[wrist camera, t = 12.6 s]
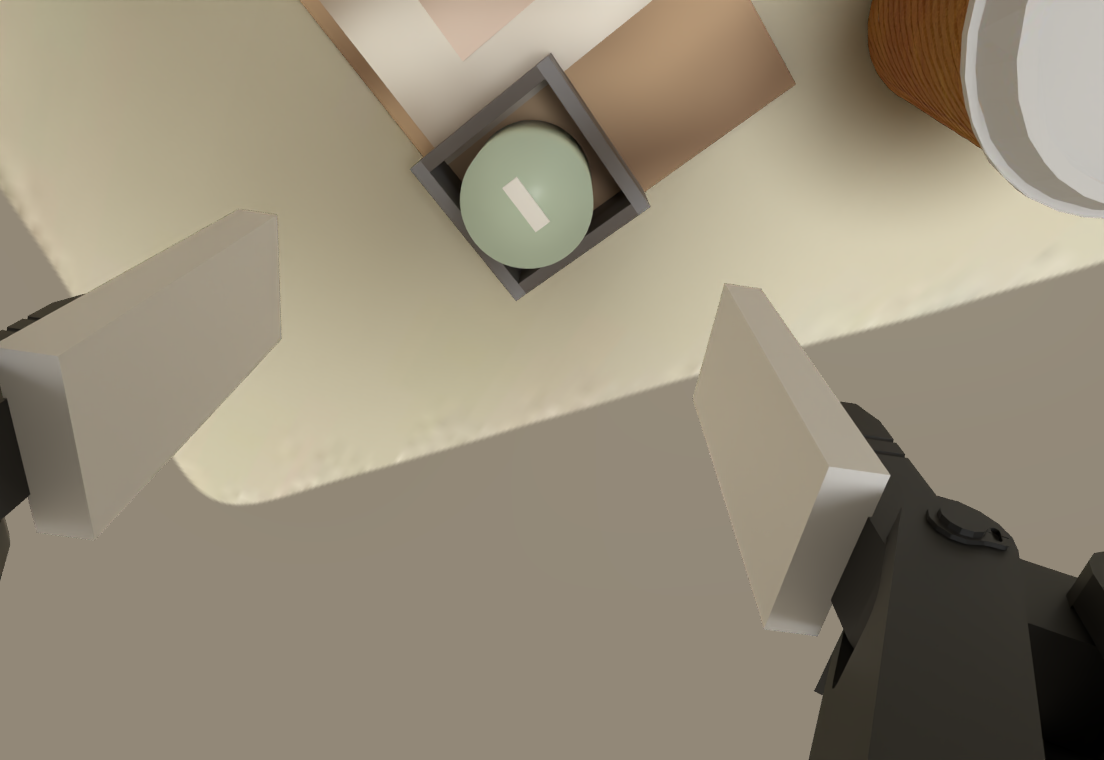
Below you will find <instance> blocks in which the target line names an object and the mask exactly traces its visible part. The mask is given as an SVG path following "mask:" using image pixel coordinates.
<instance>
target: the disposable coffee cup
mask: <svg viewBox="0 0 1104 760" xmlns="http://www.w3.org/2000/svg"><path fill="white" fill-rule="evenodd" d="M868 47H869V52H870V57H871V60H872V63H873V65H874V67H875V70H876V72H877V74H878V75H879V77H880V78H881V79H882V80H883V82H884V83H885V84H886V86H887V87H888V88H889V89H890V90H891V91H893V92H894V93H895V94H896V95H897V96H899V97H901V98H903V99H905V100H906V101H908V102H909V103H911V104H913V105H914V106H916V107H917V108H919V109H920V110H922V111H923V112H925V113H927V114H928V115H930V116H931V117H933V118H934V119H935V120H937V121H938V122H940V123H942V124H943V125H945V126H947V127H948V128H950V129H951V130H953V131H955V132H956V133H957V134H959V135H960V136H962V137H964V138H966V139H968V140H969V141H970V142H972V143H973V144H975V145H976V146H977V147H979V148H981V149H982V150H983V152H984V154H985V156H986V157H987V159H988V161H989V163H990V164H991V165H992V166H993V167H994V168H995V169H996V170H997V171H998V172H999V173H1000V174H1001V175H1002V176H1003V177H1004V178H1005V179H1006V180H1007V181H1008V182H1009V183H1010V184H1011V185H1012V186H1013V187H1014V188H1015V189H1016V190H1018V191H1019V192H1021V193H1022V194H1024V195H1025V196H1027V197H1028V198H1030V199H1032V200H1035V201H1037V202H1039V203H1041V204H1043V205H1046V206H1048V207H1050V208H1052V209H1055V210H1057V211H1060V212H1064V213H1068V214H1072V215H1077V216H1081V217H1089V218H1104V0H872V3H871V8H870V14H869V19H868Z"/></svg>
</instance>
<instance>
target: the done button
mask: <svg viewBox="0 0 1104 760" xmlns="http://www.w3.org/2000/svg"><path fill="white" fill-rule="evenodd" d="M460 208H461V214H462V218H463V222H464V224H465V227H466V229H467V231H468V233H469V235H470V236H471V238H472V239H473V241H474V242H475V243H476V245H477V246H478V247H479V248H480V249H481V250H482V251H483V252H485V253H486V254H487V255H488V256H490V257H491V258H493V259H494V260H496V261H498V262H500V263H502V264H505V265H508V266H511V267H516V268H524V269H533V268H541V267H545V266H548V265H551V264H554V263H556V262H558V261H560V260H562V259H563V258H565V257H566V256H568V255H569V254H570V253H571V252H573V250H574V249H575V248H576V247H577V246H578V245H579V244H580V242H581V241H582V240H583V238H584V236H585V234H586V233H587V231H588V228H589V225H590V223H591V219H592V214H593V190H592V180H591V172H590V166H589V163H588V160H587V157H586V155H585V153H584V151H583V149H582V148H581V146H580V145H579V143H578V142H577V141H576V140H575V139H574V138H573V137H572V136H571V135H570V134H569V133H568V132H566V131H565V130H564V129H562V128H560V127H558V126H556V125H554V124H551V123H549V122H545V121H540V120H523V121H518V122H515V123H512V124H509V125H507V126H505V127H503V128H502V129H500V130H499V131H497V132H496V133H495V134H494V135H493V136H491V137H490V139H489V140H488V141H487V142H486V143H485V145H484V146H483V147H482V149H481V150H480V151H479V153H478V154H477V156H476V157H475V158H474V160H473V161H472V163H471V164H470V166H469V167H468V169H467V171H466V173H465V176H464V178H463V182H462V185H461V192H460Z"/></svg>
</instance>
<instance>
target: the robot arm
mask: <svg viewBox="0 0 1104 760" xmlns="http://www.w3.org/2000/svg"><path fill="white" fill-rule="evenodd" d="M281 339H282V337H281V308H280V279H279V250H278V221H277V215H276V214H270V213H263V212H257V211H250V210H244V209H237V210H236V211H234V212H232V213H230V214H228V215H227V216H225V217H223V218H221V219H219V220H218V221H216V222H214V223H212V224H210V225H209V226H207V227H205V228H203V229H201V230H200V231H198V232H196V233H194V234H192V235H191V236H189V237H187V238H185V239H183V240H182V241H180V242H178V243H176V244H174V245H173V246H171V247H169V248H167V249H165V250H164V251H162V252H160V253H158V254H156V255H155V256H153V257H151V258H149V259H147V260H146V261H144V262H142V263H140V264H138V265H137V266H135V267H133V268H131V269H129V270H128V271H126V272H124V273H122V274H120V275H119V276H117V277H115V278H113V279H111V280H110V281H108V282H106V283H104V284H102V285H101V286H99V287H97V288H95V289H93V290H92V291H90V292H88V293H86V294H82V295H79V296H75V297H72V298H68V299H65V300H61V301H57V302H54V303H51V304H49V305H48V306H46V307H44V308H42V309H40V310H39V311H36V312H35V313H33V314H31V315H29V316H28V319H22V320H20V321H18V322H16V323H14V324H12V325H10V326H8V327H7V331H5V330H1V331H0V579H1V576H2V572H3V568H4V565H5V561H6V557H7V554H8V551H9V547H10V538H9V531H8V528H7V524H6V520H5V516H6V515H7V514H8V513H9V512H11V511H12V510H13V509H14V508H15V507H16V506H18V505H19V504H20V503H21V502H22V501H23V500H24V499H25V498H27V497H28V500H29V504H30V508H31V512H32V516H33V520H34V524H35V528H36V532H37V533H44V534H52V535H59V536H66V537H74V538H82V539H88V540H96V538H98V536H99V535H100V534H101V533H102V532H103V531H104V530H105V529H106V528H107V527H108V526H109V524H111V522H112V521H113V520H114V519H115V518H116V517H117V516H118V515H119V514H120V513H121V512H122V511H123V510H124V508H125V507H126V506H127V505H128V504H129V503H130V502H131V501H132V500H133V499H134V497H136V495H137V494H138V493H139V492H140V491H141V490H142V489H143V488H144V487H145V486H146V485H147V484H148V482H149V481H150V480H151V479H152V478H153V477H154V476H155V475H156V474H157V473H158V472H159V471H160V470H161V469H162V467H163V466H164V465H165V464H166V463H167V462H168V461H169V460H170V459H171V458H172V457H173V456H174V455H175V453H176V452H177V451H178V450H179V449H180V448H181V447H182V446H183V445H184V444H185V443H186V442H187V440H188V439H189V438H190V437H191V436H192V435H193V434H194V433H195V432H196V431H197V430H198V429H199V428H200V426H201V425H202V424H203V423H204V422H205V421H206V420H207V419H208V418H209V417H210V416H211V415H212V414H213V412H214V411H215V410H216V409H217V408H218V407H219V406H220V405H221V404H222V403H223V402H224V401H225V400H226V398H227V397H228V396H229V395H230V394H231V393H232V392H233V391H234V390H235V389H236V388H237V387H238V385H239V384H240V383H241V382H242V381H243V380H244V379H245V378H246V377H247V376H248V375H249V374H250V373H251V371H252V370H253V369H254V368H255V367H256V366H257V365H258V364H259V363H260V362H261V361H262V360H263V359H264V357H265V356H266V355H267V354H268V353H269V352H270V351H271V350H272V349H273V348H274V347H275V346H276V345H277V343H278V342H279V341H280V340H281ZM693 402H694V405H695V408H696V411H697V415H698V418H699V421H700V424H701V428H702V431H703V434H704V437H705V440H706V444H707V447H708V450H709V453H710V457H711V460H712V463H713V466H714V469H715V473H716V476H717V479H718V482H719V486H720V489H721V492H722V495H723V498H724V502H725V505H726V508H727V512H728V515H729V518H730V521H731V524H732V527H733V531H734V534H735V537H736V541H737V544H738V547H739V550H740V553H741V556H742V560H743V563H744V566H745V569H746V573H747V576H748V579H749V582H750V586H751V589H752V592H753V595H754V599H755V602H756V605H757V608H758V611H759V614H760V618H761V621H762V624H763V628H764V629H766V630H774V631H782V632H789V633H796V634H804V635H812V636H818V634H819V632H820V630H821V628H822V625H823V623H824V621H825V619H826V616H827V614H828V612H829V610H830V608H831V606H832V604H833V606H834V609H835V611H836V613H837V615H838V617H839V619H840V622H841V625H842V627H843V631H842V634H841V636H840V638H839V640H838V642H837V644H836V646H835V648H834V650H833V652H832V655H831V657H830V659H829V661H828V663H827V665H826V668H825V669H824V672H823V674H822V676H821V678H820V680H819V682H818V684H817V686H816V688H815V690H814V691H815V692H817V693H819V694H821V695H823V698H822V702H821V707H820V711H819V716H818V720H817V724H816V729H815V734H814V738H813V743H812V747H811V751H810V756H809V760H1104V552H1098V553H1094V554H1093V555H1092V557H1091V558H1090V560H1089V561H1088V563H1087V565H1086V566H1085V568H1084V569H1083V571H1082V572H1081V574H1080V575H1079V577H1078V578H1076V577H1073V576H1070V575H1067V574H1064V573H1061V572H1058V571H1055V570H1052V569H1049V568H1046V567H1043V566H1040V565H1037V564H1034V563H1031V562H1028V561H1025V560H1022V559H1019V552H1018V549H1017V547H1016V545H1015V542H1014V540H1013V538H1012V537H1011V536H1010V535H1009V534H1008V533H1007V532H1006V531H1005V530H1004V529H1003V528H1002V527H1001V526H1000V525H999V524H998V523H996V522H995V521H993V520H992V519H990V518H989V517H987V516H986V515H984V514H983V513H981V512H980V511H978V510H975V509H973V508H971V507H969V506H967V505H964V504H962V503H960V502H958V501H954V500H950V499H946V498H943V497H940V496H936V494H935V493H934V492H933V490H932V489H931V488H930V487H929V485H928V484H927V483H926V481H925V480H924V479H923V477H922V476H921V475H920V473H919V472H918V471H917V469H916V468H915V467H914V466H913V464H912V463H911V462H910V460H909V459H908V458H905V454H904V452H903V451H902V450H901V448H900V447H899V446H898V445H897V443H893V438H892V437H891V436H890V434H889V433H888V431H887V430H886V429H885V427H884V426H883V425H882V424H881V422H880V421H879V420H877V419H876V418H875V417H873V416H872V415H870V414H869V413H868V412H866V411H865V410H863V409H862V408H861V407H860V406H858V405H857V404H853V403H846V402H839V400H838V399H837V397H836V396H835V395H834V393H833V392H832V390H831V389H830V387H829V386H828V385H827V383H826V382H825V380H824V379H823V377H822V376H821V374H820V373H819V372H818V370H817V369H816V367H815V366H814V364H813V363H812V361H811V360H810V359H809V357H808V356H807V354H806V353H805V351H804V350H803V348H802V347H801V346H800V344H799V343H798V341H797V340H796V338H795V337H794V335H793V334H792V333H791V331H790V330H789V328H788V327H787V325H786V324H785V323H784V321H783V320H782V318H781V317H780V315H779V314H778V312H777V311H776V310H775V308H774V307H773V305H772V304H771V302H770V301H769V299H768V298H767V297H766V295H765V294H764V292H763V291H762V289H760V288H753V287H747V286H740V285H734V284H727V283H725V284H724V287H723V291H722V295H721V298H720V302H719V306H718V309H717V313H716V316H715V320H714V324H713V327H712V331H711V334H710V338H709V342H708V345H707V349H706V353H705V356H704V360H703V363H702V367H701V371H700V374H699V378H698V381H697V385H696V389H695V392H694V396H693Z"/></svg>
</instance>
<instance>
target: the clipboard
mask: <svg viewBox="0 0 1104 760" xmlns="http://www.w3.org/2000/svg"><path fill="white" fill-rule="evenodd" d="M300 2H301V3H302V4H303V5H304V7H305V8H306V9H307V10H308V12H309V13H310V14H311V15H312V17H313V18H314V19H315V20H316V22H317V23H318V24H319V26H320V27H321V28H322V29H323V31H324V32H325V33H326V34H327V36H328V37H329V38H330V39H331V41H332V42H333V43H334V44H335V46H336V47H337V48H338V50H339V51H340V52H341V53H342V55H343V56H344V57H345V58H346V60H347V61H348V62H349V63H350V65H351V66H352V67H353V68H354V70H355V71H356V72H357V73H358V75H359V76H360V77H361V79H362V80H363V81H364V82H365V84H366V85H367V86H368V87H369V89H370V90H371V91H372V92H373V94H374V95H375V96H376V97H377V99H378V100H379V101H380V103H381V104H382V105H383V106H384V108H385V109H386V110H387V111H388V113H389V114H390V115H391V116H392V118H393V119H394V120H395V121H396V123H397V124H398V125H399V127H400V128H401V129H402V130H403V132H404V133H405V134H406V135H407V137H408V138H409V139H410V140H411V142H412V143H413V144H414V145H415V147H416V148H417V149H418V151H419V152H420V153H421V154H422V156H423V158H422V159H421V160H420V161H419V162H418V163H416V164H415V165H414V166H413V167H412V168H411V169H410V170H411V171H412V173H413V174H414V175H415V176H416V177H417V179H418V180H419V181H420V182H421V184H422V185H423V186H424V187H425V189H426V190H427V191H428V192H429V194H430V195H431V196H432V197H433V199H434V200H435V201H436V202H437V204H438V205H439V206H440V207H441V208H442V210H443V211H444V212H445V213H446V215H447V216H448V217H449V218H450V220H451V221H452V222H453V223H454V225H455V226H456V227H457V228H458V230H459V231H460V232H461V233H462V235H463V236H464V237H465V238H466V239H467V241H468V242H469V243H470V244H471V246H472V247H473V248H474V249H475V251H476V252H477V253H478V254H479V256H480V257H481V258H482V259H483V261H484V262H485V263H486V264H487V266H488V267H489V268H490V269H491V270H492V272H493V273H494V274H495V275H496V277H497V278H498V279H499V280H500V282H501V283H502V284H503V285H504V287H505V288H506V289H507V290H508V292H509V293H510V294H511V295H512V297H513V298H514V299H515V300H516V301H517V300H518V299H520V298H521V297H522V296H524V295H525V294H527V293H528V292H530V291H531V290H532V289H534V288H535V287H537V286H538V285H540V284H541V283H542V282H544V281H545V280H547V279H548V278H550V277H551V276H552V275H554V274H555V273H557V272H558V271H560V270H561V269H562V268H564V267H565V266H567V265H568V264H569V263H571V262H572V261H574V260H575V259H577V258H578V257H579V256H581V255H582V254H584V253H585V252H587V251H588V250H589V249H591V248H592V247H594V246H595V245H597V244H598V243H599V242H601V241H602V240H604V239H605V238H607V237H608V236H609V235H611V234H612V233H614V232H615V231H617V230H618V229H619V228H621V227H622V226H624V225H625V224H627V223H628V222H629V221H631V220H632V219H634V218H635V217H637V216H638V215H639V214H641V213H642V212H644V211H645V210H647V209H648V208H649V207H650V205H649V203H648V200H647V198H646V195H645V193H644V192H645V191H646V190H648V189H649V188H651V187H652V186H653V185H655V184H656V183H658V182H659V181H661V180H662V179H663V178H665V177H666V176H668V175H669V174H670V173H672V172H673V171H675V170H676V169H677V168H679V167H680V166H682V165H683V164H684V163H686V162H687V161H689V160H690V159H691V158H693V157H694V156H696V155H697V154H699V153H700V152H701V151H703V150H704V149H706V148H707V147H708V146H710V145H711V144H713V143H714V142H715V141H717V140H718V139H720V138H721V137H722V136H724V135H725V134H727V133H728V132H729V131H731V130H732V129H734V128H735V127H737V126H738V125H739V124H741V123H742V122H744V121H745V120H746V119H748V118H749V117H751V116H752V115H753V114H755V113H756V112H758V111H759V110H760V109H762V108H763V107H765V106H766V105H767V104H769V103H770V102H772V101H773V100H775V99H776V98H777V97H779V96H780V95H782V94H783V93H784V92H786V91H787V90H789V89H790V88H791V87H793V86H794V85H796V83H795V81H794V80H793V78H792V76H791V74H790V72H789V70H788V68H787V67H786V65H785V63H784V61H783V59H782V57H781V56H780V54H779V52H778V50H777V48H776V46H775V44H774V43H773V41H772V39H771V37H770V35H769V33H768V32H767V30H766V28H765V26H764V24H763V22H762V20H761V19H760V17H759V15H758V13H757V11H756V9H755V8H754V6H753V4H752V2H751V0H300ZM523 120H540V121H545V122H549V123H551V124H554V125H556V126H558V127H560V128H562V129H564V130H565V131H566V132H568V133H569V134H570V135H571V136H572V137H573V138H574V139H575V140H576V141H577V142H578V143H579V145H580V146H581V148H582V149H583V151H584V153H585V155H586V157H587V160H588V163H589V166H590V172H591V180H592V190H593V214H592V219H591V223H590V225H589V228H588V231H587V233H586V234H585V236H584V238H583V240H582V241H581V242H580V244H579V245H578V246H577V247H576V248H575V249H574V250H573V252H571V253H570V254H569V255H568V256H566V257H565V258H563V259H562V260H560V261H558V262H556V263H554V264H551V265H548V266H545V267H541V268H533V269H524V268H516V267H511V266H508V265H505V264H502V263H500V262H498V261H496V260H494V259H493V258H491V257H490V256H488V255H487V254H486V253H485V252H483V251H482V250H481V249H480V248H479V247H478V246H477V245H476V243H475V242H474V241H473V239H472V238H471V236H470V235H469V233H468V231H467V229H466V227H465V224H464V222H463V218H462V214H461V208H460V192H461V185H462V182H463V178H464V176H465V173H466V171H467V169H468V167H469V166H470V164H471V163H472V161H473V160H474V158H475V157H476V156H477V154H478V153H479V151H480V150H481V149H482V147H483V146H484V145H485V143H486V142H487V141H488V140H489V139H490V137H491V136H493V135H494V134H495V133H496V132H497V131H499V130H500V129H502V128H503V127H505V126H507V125H509V124H512V123H515V122H518V121H523Z"/></svg>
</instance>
